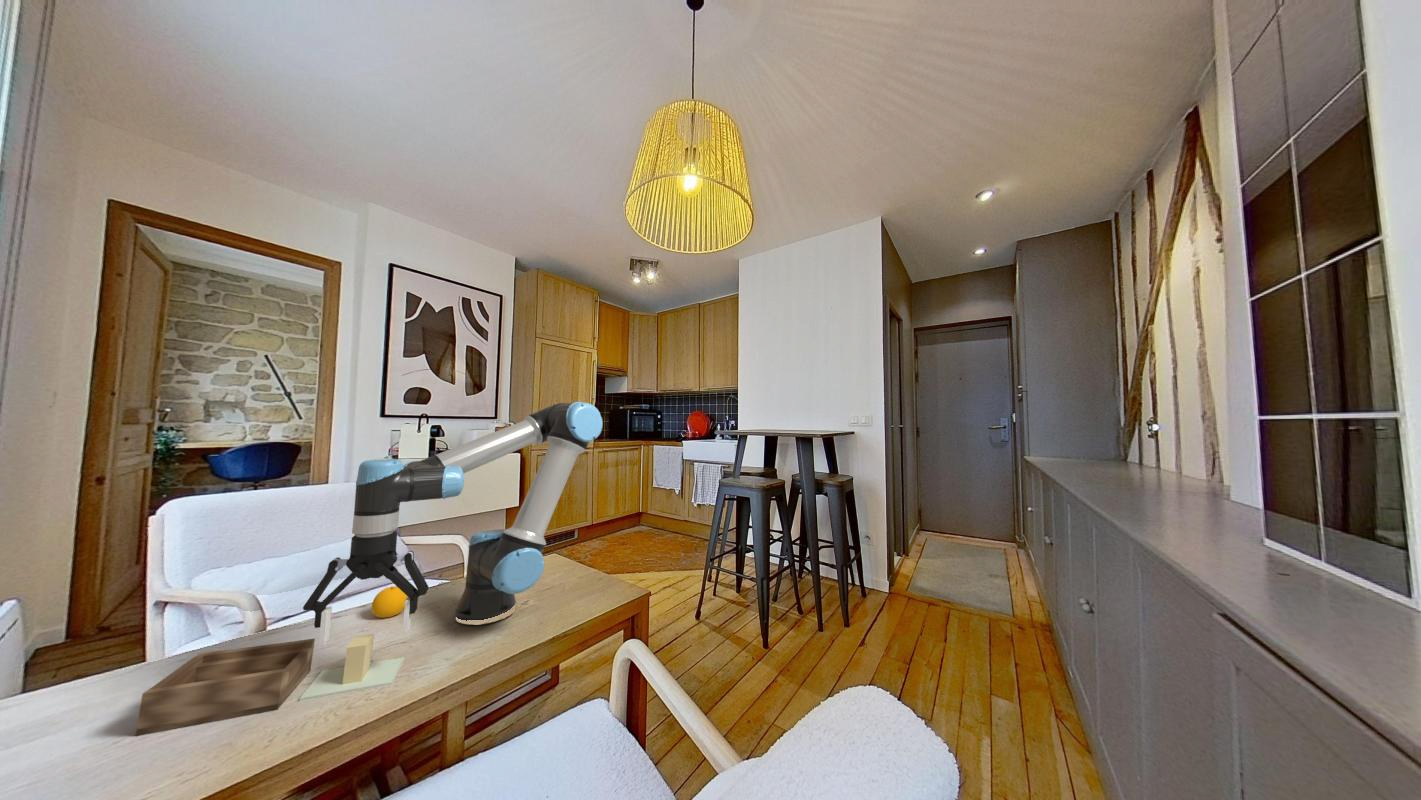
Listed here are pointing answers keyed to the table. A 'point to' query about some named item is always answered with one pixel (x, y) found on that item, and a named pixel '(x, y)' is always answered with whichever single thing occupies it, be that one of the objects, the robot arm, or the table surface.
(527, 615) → the table surface
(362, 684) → the lid
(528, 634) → the table surface
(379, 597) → the orange
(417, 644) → the table surface
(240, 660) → the case
